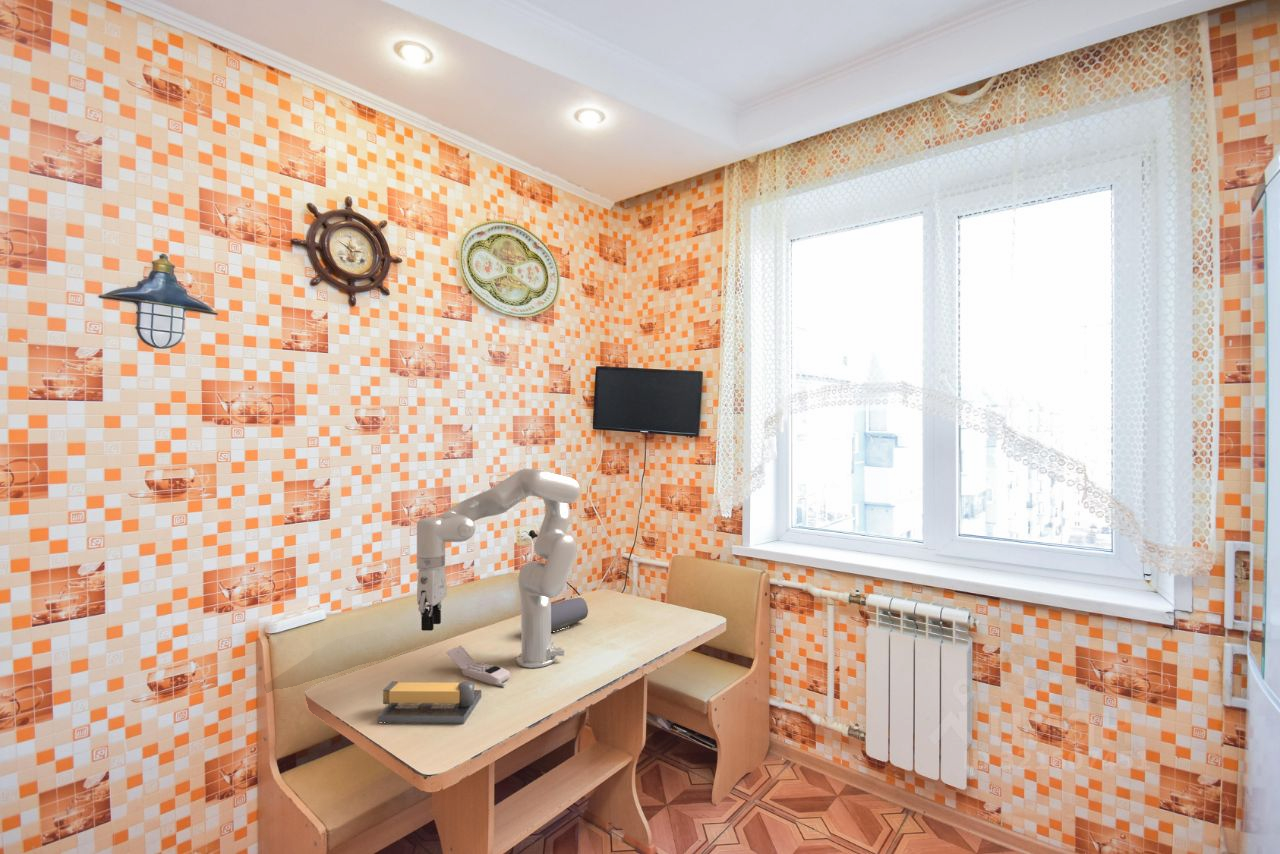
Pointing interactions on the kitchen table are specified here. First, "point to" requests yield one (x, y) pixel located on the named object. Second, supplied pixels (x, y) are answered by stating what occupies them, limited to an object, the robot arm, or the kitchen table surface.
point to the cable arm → (430, 693)
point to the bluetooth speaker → (567, 613)
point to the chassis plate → (428, 712)
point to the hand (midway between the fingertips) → (431, 626)
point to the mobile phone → (478, 668)
